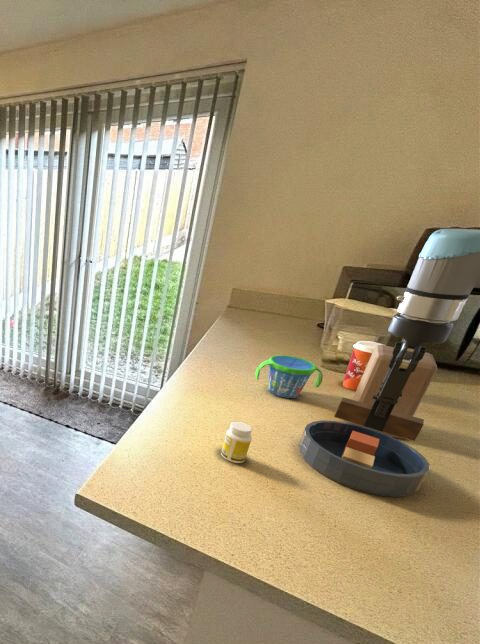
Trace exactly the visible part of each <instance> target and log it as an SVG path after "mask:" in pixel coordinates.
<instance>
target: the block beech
mask: <svg viewBox="0 0 480 644" xmlns="http://www.w3.org/2000/svg"><path fill="white" fill-rule="evenodd" d="M342 459H344V460H347V461H349V462H352V463H354V464H357V465H360V466H363V467H366V468H370V469H371V468H372V466H373V463H374V459H375V456H372V455H369V454H366V453H363V452H360V451H357V450H354V449H351V448H348V447H346V449H345V451H344V454H343V456H342Z"/></svg>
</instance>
